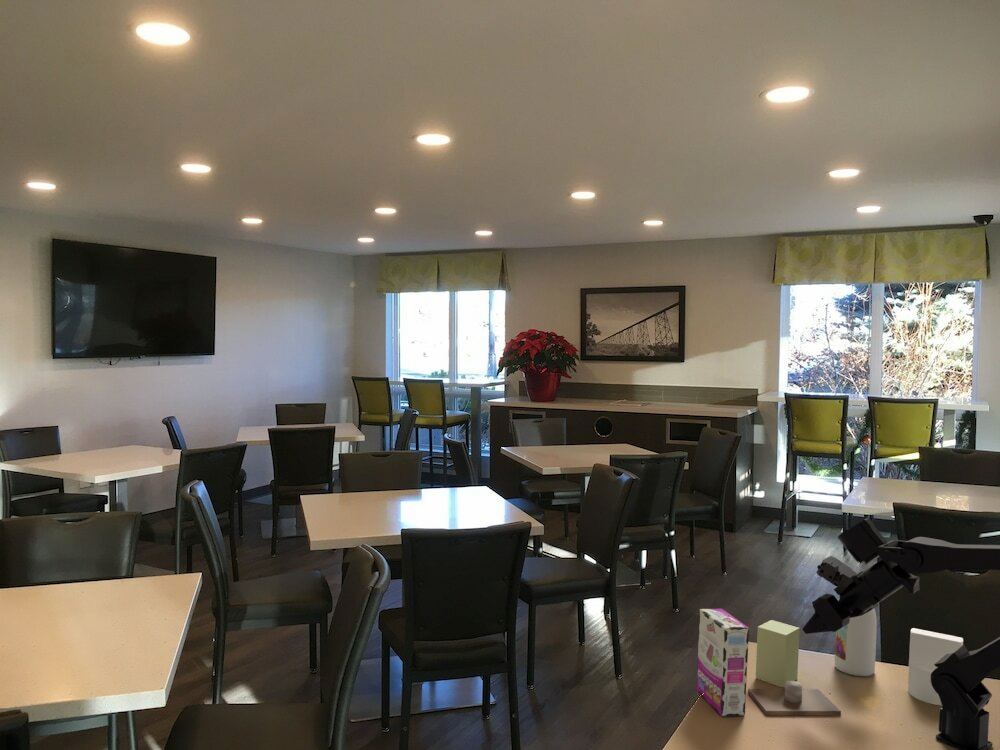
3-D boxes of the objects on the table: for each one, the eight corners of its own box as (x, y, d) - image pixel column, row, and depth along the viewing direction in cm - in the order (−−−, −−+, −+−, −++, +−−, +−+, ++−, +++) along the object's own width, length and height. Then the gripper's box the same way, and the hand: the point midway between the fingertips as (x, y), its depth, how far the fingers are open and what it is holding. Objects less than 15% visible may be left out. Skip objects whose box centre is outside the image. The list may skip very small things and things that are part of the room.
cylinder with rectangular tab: (961, 693, 154) (964, 633, 153) (958, 710, 146) (961, 647, 146) (910, 681, 159) (913, 623, 158) (905, 697, 151) (908, 636, 151)
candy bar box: (747, 716, 142) (750, 627, 141) (721, 718, 141) (725, 628, 140) (719, 689, 153) (722, 606, 152) (695, 690, 152) (698, 607, 151)
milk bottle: (877, 668, 165) (881, 575, 164) (871, 680, 158) (875, 583, 157) (838, 659, 169) (842, 568, 168) (830, 671, 163) (835, 576, 162)
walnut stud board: (818, 693, 152) (819, 674, 152) (840, 715, 143) (841, 695, 143) (748, 692, 151) (748, 673, 151) (766, 715, 142) (766, 694, 142)
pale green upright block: (797, 679, 158) (799, 627, 158) (784, 687, 154) (786, 635, 153) (769, 669, 162) (771, 619, 162) (755, 678, 158) (757, 626, 158)
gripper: (864, 539, 154) (807, 580, 163) (825, 555, 141) (765, 599, 150) (905, 587, 149) (843, 628, 157) (868, 609, 136) (803, 652, 144)
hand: (814, 625), depth 152 cm, fingers open, 9 cm apart
